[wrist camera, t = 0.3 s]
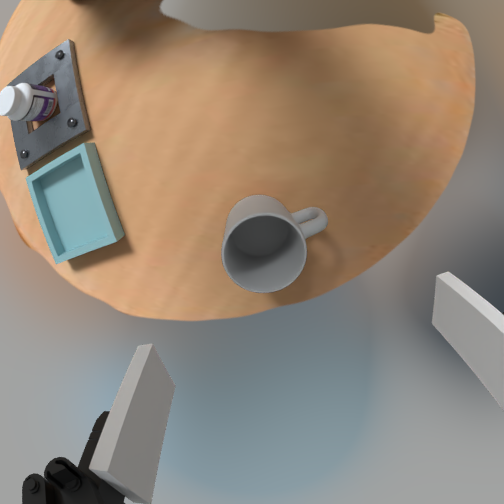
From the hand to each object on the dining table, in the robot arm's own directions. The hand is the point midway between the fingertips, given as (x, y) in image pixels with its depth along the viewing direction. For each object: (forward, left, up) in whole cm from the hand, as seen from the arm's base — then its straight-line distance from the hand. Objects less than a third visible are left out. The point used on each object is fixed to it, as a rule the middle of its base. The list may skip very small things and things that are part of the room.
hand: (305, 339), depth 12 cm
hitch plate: (-26, -26, -27) cm, 46 cm away
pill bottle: (-26, -26, -28) cm, 46 cm away
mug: (+2, +1, -28) cm, 28 cm away
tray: (-9, -25, -27) cm, 38 cm away
